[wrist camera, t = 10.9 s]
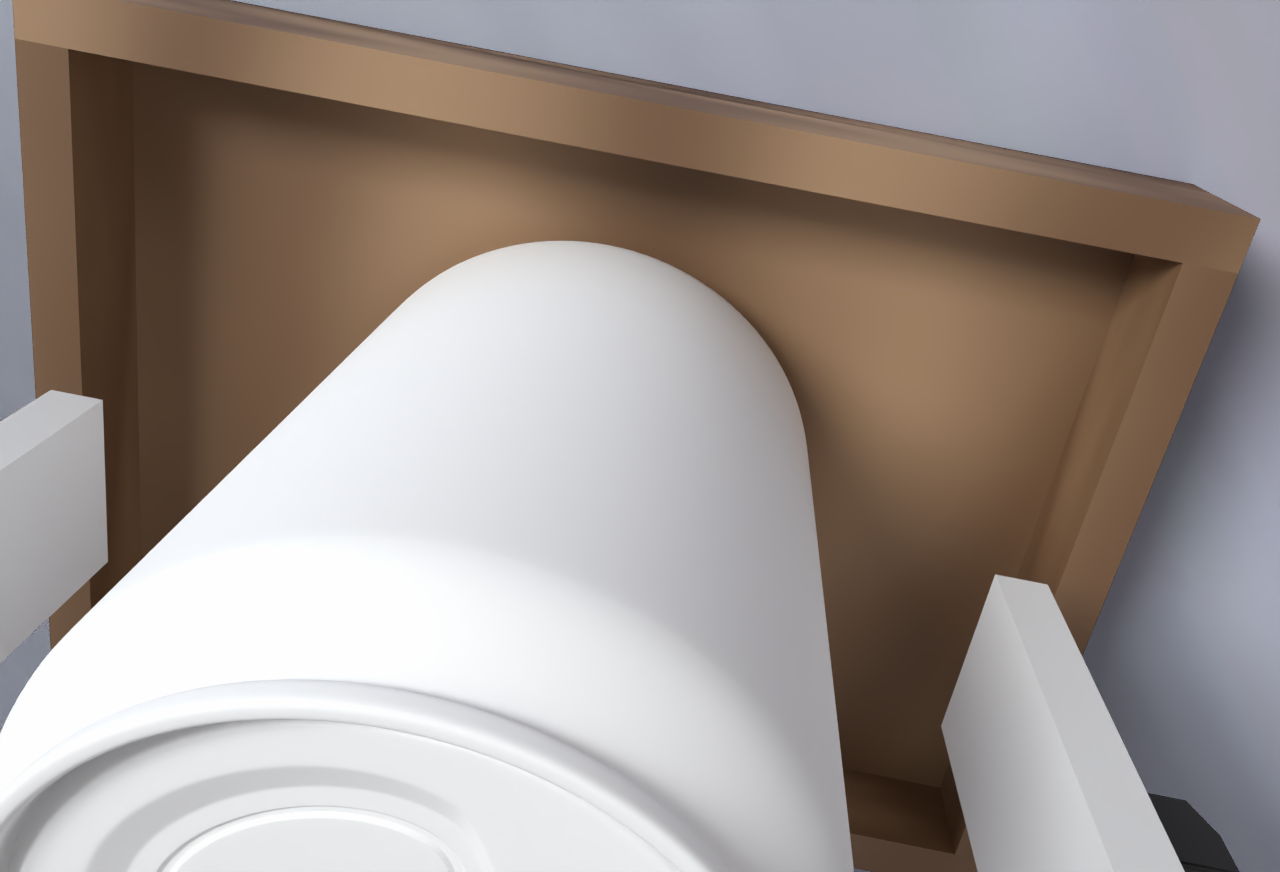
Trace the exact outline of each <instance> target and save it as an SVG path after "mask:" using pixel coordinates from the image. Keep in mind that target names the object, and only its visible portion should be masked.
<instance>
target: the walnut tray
mask: <svg viewBox="0 0 1280 872" xmlns="http://www.w3.org/2000/svg"><path fill="white" fill-rule="evenodd" d="M12 2H13V19H14V36H15V52H16V69H17V86H18V103H19V120H20V137H21V154H22V171H23V187H24V204H25V221H26V238H27V255H28V272H29V289H30V306H31V322H32V339H33V356H34V373H35V390H36V399H37V398H39V397H40V396H42V395H44V394H45V393H47V392H48V391H50V390H55V391H60V392H65V393H70V394H75V395H80V396H85V397H91V398H96V399H101V400H103V425H104V455H105V486H106V516H107V547H108V562H107V563H106V564H105V565H104V566H103V567H102V568H101V569H100V570H99V571H98V572H97V573H95V574H94V575H93V576H92V577H91V578H90V579H89V580H88V581H87V582H86V583H85V584H84V585H83V586H82V587H81V588H80V589H79V590H78V591H77V592H75V593H74V594H73V595H72V596H71V597H70V598H69V599H68V600H67V601H66V602H65V603H64V604H63V605H62V606H61V607H60V608H59V609H58V610H56V611H55V612H54V613H53V614H52V615H51V616H50V617H49V626H50V643H51V650H52V649H53V648H54V647H55V646H56V645H57V644H58V643H59V642H60V640H61V639H62V638H63V637H64V636H65V635H66V634H67V633H68V632H69V631H70V630H71V629H72V628H73V627H74V626H75V625H76V624H77V623H78V622H79V621H80V620H81V619H82V618H83V617H84V616H85V615H86V614H87V613H88V612H89V611H90V610H91V609H92V608H93V607H94V606H95V605H96V604H97V603H98V602H99V601H100V600H101V599H102V598H103V597H104V596H105V595H106V594H107V593H108V592H109V591H110V590H111V589H112V588H113V587H114V586H115V585H116V584H117V583H118V582H119V581H120V580H121V579H122V578H123V577H124V576H125V575H127V574H128V573H129V572H130V571H131V570H132V569H133V568H134V567H135V566H136V565H137V564H138V563H139V562H140V561H141V560H142V559H143V558H144V557H145V556H146V555H147V554H148V553H149V552H150V551H151V550H152V549H153V548H154V547H155V546H156V545H157V544H158V543H159V542H160V541H161V540H162V539H163V538H164V537H165V536H166V535H167V534H168V533H169V532H170V531H171V530H172V529H173V528H174V527H175V526H176V525H177V524H178V523H179V522H180V521H181V520H182V519H183V518H184V517H185V516H186V515H187V514H188V513H189V512H191V511H192V510H193V509H194V508H195V507H196V506H197V505H198V504H199V503H200V502H201V501H202V500H203V499H204V498H205V497H206V496H207V495H208V494H209V493H210V492H211V491H212V490H213V489H214V488H215V487H216V486H217V485H218V484H219V483H220V482H221V481H222V480H223V479H224V478H225V477H226V476H227V475H228V474H229V473H230V472H231V471H232V470H233V469H234V468H235V467H236V466H237V465H238V464H239V463H240V462H241V461H242V460H243V459H244V458H245V457H246V456H247V455H248V454H249V453H250V452H251V451H252V450H254V449H255V448H256V447H257V446H258V445H259V444H260V443H261V442H262V441H263V440H264V439H265V438H266V437H267V436H268V435H269V434H270V433H271V432H272V431H273V430H274V429H275V428H276V427H277V426H278V425H279V424H280V423H281V422H282V421H283V420H284V419H285V418H286V417H287V416H288V415H289V414H290V413H291V412H292V411H293V410H294V409H295V408H296V407H297V406H298V405H299V404H300V403H301V402H302V401H303V400H304V399H305V398H306V397H307V396H308V395H309V394H310V393H311V392H312V391H313V390H314V389H315V388H316V387H318V386H319V385H320V384H321V383H322V382H323V381H324V380H325V379H326V378H327V377H328V376H329V375H330V374H331V373H332V372H333V371H334V370H335V369H336V368H337V367H338V366H339V365H340V364H341V363H342V362H343V361H344V360H345V359H346V358H347V357H348V356H349V355H350V354H351V353H352V352H353V351H354V350H355V349H356V348H357V347H358V346H359V345H360V344H361V343H362V342H363V341H364V340H365V339H366V338H367V337H368V336H369V335H370V334H371V333H372V332H373V331H374V330H375V329H376V328H377V327H378V326H379V325H380V324H382V323H383V322H384V321H385V320H386V319H387V318H388V317H389V316H390V315H391V314H392V313H393V312H394V311H395V310H396V309H397V308H398V307H399V306H400V305H401V304H402V303H403V302H404V301H405V300H406V299H407V298H409V297H410V296H411V295H412V294H413V293H414V292H416V291H417V290H418V289H419V288H421V287H422V286H423V285H425V284H426V283H427V282H429V281H430V280H432V279H433V278H434V277H436V276H438V275H439V274H441V273H443V272H444V271H446V270H448V269H450V268H451V267H453V266H455V265H457V264H459V263H461V262H464V261H466V260H468V259H470V258H473V257H475V256H478V255H481V254H484V253H487V252H490V251H493V250H497V249H500V248H504V247H509V246H513V245H519V244H524V243H532V242H542V241H581V242H591V243H599V244H605V245H611V246H615V247H620V248H624V249H628V250H631V251H635V252H638V253H641V254H644V255H647V256H650V257H652V258H655V259H658V260H660V261H662V262H665V263H667V264H669V265H671V266H673V267H675V268H677V269H680V270H681V271H683V272H685V273H687V274H689V275H691V276H692V277H694V278H695V279H697V280H699V281H700V282H702V283H703V284H705V285H706V286H708V287H709V288H711V289H712V290H713V291H715V292H716V293H717V294H719V295H720V296H721V297H723V298H724V299H725V300H726V301H727V302H729V303H730V304H731V305H732V306H733V307H734V308H735V309H736V310H737V311H738V312H740V313H741V314H742V316H743V317H744V318H745V319H746V320H747V321H748V322H749V323H750V324H751V325H752V326H753V327H754V328H755V330H756V331H757V332H758V333H759V335H760V336H761V337H762V338H763V340H764V341H765V342H766V344H767V345H768V346H769V348H770V349H771V351H772V352H773V354H774V356H775V357H776V359H777V360H778V362H779V364H780V366H781V367H782V369H783V371H784V373H785V375H786V377H787V379H788V381H789V383H790V386H791V388H792V390H793V393H794V396H795V398H796V401H797V404H798V407H799V410H800V414H801V418H802V422H803V427H804V431H805V437H806V444H807V452H808V460H809V469H810V478H811V487H812V496H813V505H814V514H815V523H816V532H817V541H818V551H819V560H820V569H821V578H822V587H823V596H824V605H825V614H826V623H827V632H828V641H829V650H830V659H831V668H832V677H833V686H834V695H835V704H836V713H837V722H838V731H839V740H840V749H841V758H842V767H843V776H844V785H845V794H846V803H847V812H848V821H849V830H850V840H851V849H852V858H853V867H854V868H856V869H861V870H866V871H871V872H978V871H977V867H976V863H975V859H974V855H973V851H972V847H971V843H970V839H969V835H968V831H967V827H966V823H965V819H964V815H963V811H962V807H961V803H960V799H959V795H958V791H957V787H956V783H955V779H954V775H953V771H952V767H951V763H950V760H949V756H948V752H947V748H946V744H945V740H944V736H943V732H942V728H941V725H942V722H943V719H944V717H945V714H946V711H947V708H948V705H949V702H950V700H951V697H952V694H953V691H954V688H955V686H956V683H957V680H958V677H959V674H960V672H961V669H962V666H963V663H964V660H965V658H966V655H967V652H968V649H969V646H970V644H971V641H972V638H973V635H974V632H975V630H976V627H977V624H978V621H979V618H980V615H981V613H982V610H983V607H984V604H985V601H986V599H987V596H988V593H989V590H990V587H991V585H992V582H993V579H994V576H995V574H996V575H1001V576H1006V577H1011V578H1016V579H1021V580H1027V581H1032V582H1037V583H1042V584H1047V585H1048V586H1049V588H1050V590H1051V592H1052V594H1053V597H1054V599H1055V601H1056V603H1057V605H1058V607H1059V609H1060V611H1061V613H1062V615H1063V618H1064V620H1065V622H1066V624H1067V626H1068V628H1069V630H1070V632H1071V634H1072V636H1073V639H1074V641H1075V643H1076V645H1077V647H1078V649H1079V651H1080V653H1081V655H1083V653H1084V650H1085V648H1086V645H1087V643H1088V640H1089V638H1090V635H1091V633H1092V631H1093V628H1094V626H1095V623H1096V621H1097V618H1098V616H1099V613H1100V611H1101V609H1102V606H1103V604H1104V601H1105V599H1106V596H1107V594H1108V591H1109V589H1110V587H1111V584H1112V582H1113V579H1114V577H1115V574H1116V572H1117V569H1118V567H1119V564H1120V562H1121V560H1122V557H1123V555H1124V552H1125V550H1126V547H1127V545H1128V542H1129V540H1130V538H1131V535H1132V533H1133V530H1134V528H1135V525H1136V523H1137V520H1138V518H1139V515H1140V513H1141V511H1142V508H1143V506H1144V503H1145V501H1146V498H1147V496H1148V493H1149V491H1150V489H1151V486H1152V484H1153V481H1154V479H1155V476H1156V474H1157V471H1158V469H1159V467H1160V464H1161V462H1162V459H1163V457H1164V454H1165V452H1166V449H1167V447H1168V444H1169V442H1170V440H1171V437H1172V435H1173V432H1174V430H1175V427H1176V425H1177V422H1178V420H1179V418H1180V415H1181V413H1182V410H1183V408H1184V405H1185V403H1186V400H1187V398H1188V395H1189V393H1190V391H1191V388H1192V386H1193V383H1194V381H1195V378H1196V376H1197V373H1198V371H1199V369H1200V366H1201V364H1202V361H1203V359H1204V356H1205V354H1206V351H1207V349H1208V347H1209V344H1210V342H1211V339H1212V337H1213V334H1214V332H1215V329H1216V327H1217V324H1218V322H1219V320H1220V317H1221V315H1222V312H1223V310H1224V307H1225V305H1226V302H1227V300H1228V298H1229V295H1230V293H1231V290H1232V288H1233V285H1234V283H1235V280H1236V278H1237V275H1238V273H1239V271H1240V268H1241V266H1242V263H1243V261H1244V258H1245V256H1246V253H1247V251H1248V249H1249V246H1250V244H1251V241H1252V239H1253V236H1254V234H1255V231H1256V229H1257V227H1258V224H1259V222H1260V218H1258V217H1256V216H1254V215H1252V214H1250V213H1248V212H1246V211H1244V210H1242V209H1240V208H1238V207H1236V206H1234V205H1232V204H1230V203H1228V202H1227V201H1225V200H1223V199H1221V198H1219V197H1217V196H1215V195H1213V194H1211V193H1209V192H1207V191H1205V190H1203V189H1201V188H1199V187H1197V186H1195V185H1193V184H1189V183H1184V182H1179V181H1174V180H1168V179H1163V178H1158V177H1153V176H1148V175H1142V174H1137V173H1132V172H1127V171H1121V170H1116V169H1111V168H1106V167H1100V166H1095V165H1090V164H1085V163H1079V162H1074V161H1069V160H1064V159H1059V158H1053V157H1048V156H1043V155H1038V154H1032V153H1027V152H1022V151H1017V150H1011V149H1006V148H1001V147H996V146H991V145H985V144H980V143H975V142H970V141H964V140H959V139H954V138H949V137H943V136H938V135H933V134H928V133H922V132H917V131H912V130H907V129H902V128H896V127H891V126H886V125H881V124H875V123H870V122H865V121H860V120H854V119H849V118H844V117H839V116H833V115H828V114H823V113H818V112H813V111H807V110H802V109H797V108H792V107H786V106H781V105H776V104H771V103H765V102H760V101H755V100H750V99H744V98H739V97H734V96H729V95H724V94H718V93H713V92H708V91H703V90H697V89H692V88H687V87H682V86H676V85H671V84H666V83H661V82H655V81H650V80H645V79H640V78H635V77H629V76H624V75H619V74H614V73H608V72H603V71H598V70H593V69H587V68H582V67H577V66H572V65H566V64H561V63H556V62H551V61H546V60H540V59H535V58H530V57H525V56H519V55H514V54H509V53H504V52H498V51H493V50H488V49H483V48H477V47H472V46H467V45H462V44H457V43H451V42H446V41H441V40H436V39H430V38H425V37H420V36H415V35H409V34H404V33H399V32H394V31H388V30H383V29H378V28H373V27H368V26H362V25H357V24H352V23H347V22H341V21H336V20H331V19H326V18H320V17H315V16H310V15H305V14H299V13H294V12H289V11H284V10H279V9H273V8H268V7H263V6H258V5H252V4H247V3H242V2H237V1H231V0H12Z"/></svg>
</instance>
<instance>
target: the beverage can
mask: <svg viewBox="0 0 1280 872" xmlns="http://www.w3.org/2000/svg"><path fill="white" fill-rule="evenodd" d="M0 872H854V867H853V858H852V849H851V840H850V830H849V821H848V812H847V803H846V794H845V785H844V776H843V767H842V758H841V749H840V740H839V731H838V722H837V713H836V704H835V695H834V686H833V677H832V668H831V659H830V650H829V641H828V632H827V623H826V614H825V605H824V596H823V587H822V578H821V569H820V560H819V551H818V541H817V532H816V523H815V514H814V505H813V496H812V487H811V478H810V469H809V460H808V452H807V444H806V437H805V431H804V427H803V422H802V418H801V414H800V410H799V407H798V404H797V401H796V398H795V396H794V393H793V390H792V388H791V386H790V383H789V381H788V379H787V377H786V375H785V373H784V371H783V369H782V367H781V366H780V364H779V362H778V360H777V359H776V357H775V356H774V354H773V352H772V351H771V349H770V348H769V346H768V345H767V344H766V342H765V341H764V340H763V338H762V337H761V336H760V335H759V333H758V332H757V331H756V330H755V328H754V327H753V326H752V325H751V324H750V323H749V322H748V321H747V320H746V319H745V318H744V317H743V316H742V314H741V313H740V312H738V311H737V310H736V309H735V308H734V307H733V306H732V305H731V304H730V303H729V302H727V301H726V300H725V299H724V298H723V297H721V296H720V295H719V294H717V293H716V292H715V291H713V290H712V289H711V288H709V287H708V286H706V285H705V284H703V283H702V282H700V281H699V280H697V279H695V278H694V277H692V276H691V275H689V274H687V273H685V272H683V271H681V270H680V269H677V268H675V267H673V266H671V265H669V264H667V263H665V262H662V261H660V260H658V259H655V258H652V257H650V256H647V255H644V254H641V253H638V252H635V251H631V250H628V249H624V248H620V247H615V246H611V245H605V244H599V243H591V242H581V241H542V242H532V243H524V244H519V245H513V246H509V247H504V248H500V249H497V250H493V251H490V252H487V253H484V254H481V255H478V256H475V257H473V258H470V259H468V260H466V261H464V262H461V263H459V264H457V265H455V266H453V267H451V268H450V269H448V270H446V271H444V272H443V273H441V274H439V275H438V276H436V277H434V278H433V279H432V280H430V281H429V282H427V283H426V284H425V285H423V286H422V287H421V288H419V289H418V290H417V291H416V292H414V293H413V294H412V295H411V296H410V297H409V298H407V299H406V300H405V301H404V302H403V303H402V304H401V305H400V306H399V307H398V308H397V309H396V310H395V311H394V312H393V313H392V314H391V315H390V316H389V317H388V318H387V319H386V320H385V321H384V322H383V323H382V324H380V325H379V326H378V327H377V328H376V329H375V330H374V331H373V332H372V333H371V334H370V335H369V336H368V337H367V338H366V339H365V340H364V341H363V342H362V343H361V344H360V345H359V346H358V347H357V348H356V349H355V350H354V351H353V352H352V353H351V354H350V355H349V356H348V357H347V358H346V359H345V360H344V361H343V362H342V363H341V364H340V365H339V366H338V367H337V368H336V369H335V370H334V371H333V372H332V373H331V374H330V375H329V376H328V377H327V378H326V379H325V380H324V381H323V382H322V383H321V384H320V385H319V386H318V387H316V388H315V389H314V390H313V391H312V392H311V393H310V394H309V395H308V396H307V397H306V398H305V399H304V400H303V401H302V402H301V403H300V404H299V405H298V406H297V407H296V408H295V409H294V410H293V411H292V412H291V413H290V414H289V415H288V416H287V417H286V418H285V419H284V420H283V421H282V422H281V423H280V424H279V425H278V426H277V427H276V428H275V429H274V430H273V431H272V432H271V433H270V434H269V435H268V436H267V437H266V438H265V439H264V440H263V441H262V442H261V443H260V444H259V445H258V446H257V447H256V448H255V449H254V450H252V451H251V452H250V453H249V454H248V455H247V456H246V457H245V458H244V459H243V460H242V461H241V462H240V463H239V464H238V465H237V466H236V467H235V468H234V469H233V470H232V471H231V472H230V473H229V474H228V475H227V476H226V477H225V478H224V479H223V480H222V481H221V482H220V483H219V484H218V485H217V486H216V487H215V488H214V489H213V490H212V491H211V492H210V493H209V494H208V495H207V496H206V497H205V498H204V499H203V500H202V501H201V502H200V503H199V504H198V505H197V506H196V507H195V508H194V509H193V510H192V511H191V512H189V513H188V514H187V515H186V516H185V517H184V518H183V519H182V520H181V521H180V522H179V523H178V524H177V525H176V526H175V527H174V528H173V529H172V530H171V531H170V532H169V533H168V534H167V535H166V536H165V537H164V538H163V539H162V540H161V541H160V542H159V543H158V544H157V545H156V546H155V547H154V548H153V549H152V550H151V551H150V552H149V553H148V554H147V555H146V556H145V557H144V558H143V559H142V560H141V561H140V562H139V563H138V564H137V565H136V566H135V567H134V568H133V569H132V570H131V571H130V572H129V573H128V574H127V575H125V576H124V577H123V578H122V579H121V580H120V581H119V582H118V583H117V584H116V585H115V586H114V587H113V588H112V589H111V590H110V591H109V592H108V593H107V594H106V595H105V596H104V597H103V598H102V599H101V600H100V601H99V602H98V603H97V604H96V605H95V606H94V607H93V608H92V609H91V610H90V611H89V612H88V613H87V614H86V615H85V616H84V617H83V618H82V619H81V620H80V621H79V622H78V623H77V624H76V625H75V626H74V627H73V628H72V629H71V630H70V631H69V632H68V633H67V634H66V635H65V636H64V637H63V638H62V639H61V640H60V642H59V643H58V644H57V645H56V646H55V647H54V648H53V649H52V650H51V651H50V653H49V654H48V655H47V656H46V657H45V659H44V660H43V661H42V662H41V664H40V665H39V667H38V668H37V669H36V671H35V672H34V674H33V675H32V676H31V678H30V679H29V681H28V682H27V684H26V685H25V687H24V689H23V690H22V692H21V694H20V695H19V697H18V699H17V700H16V702H15V704H14V706H13V708H12V710H11V712H10V714H9V715H8V717H7V719H6V721H5V724H4V726H3V728H2V731H1V733H0Z"/></svg>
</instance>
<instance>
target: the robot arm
mask: <svg viewBox="0 0 1280 872" xmlns="http://www.w3.org/2000/svg"><path fill="white" fill-rule="evenodd" d="M107 562H108V547H107V516H106V486H105V455H104V425H103V400H101V399H96V398H91V397H85V396H80V395H75V394H70V393H65V392H60V391H55V390H50V391H48V392H47V393H45V394H44V395H42V396H40V397H39V398H37V399H36V400H34V401H32V402H31V403H29V404H28V405H26V406H24V407H23V408H21V409H20V410H18V411H16V412H15V413H13V414H12V415H10V416H8V417H7V418H5V419H4V420H2V421H0V664H1V663H2V662H3V661H4V660H5V659H6V658H7V657H8V656H9V655H10V654H11V653H12V652H13V651H14V650H15V649H16V648H17V647H19V646H20V645H21V644H22V643H23V642H24V641H25V640H26V639H27V638H28V637H29V636H30V635H31V634H32V633H33V632H34V631H35V630H36V629H37V628H39V627H40V626H41V625H42V624H43V623H44V622H45V621H46V620H47V619H48V618H49V617H50V616H51V615H52V614H53V613H54V612H55V611H56V610H58V609H59V608H60V607H61V606H62V605H63V604H64V603H65V602H66V601H67V600H68V599H69V598H70V597H71V596H72V595H73V594H74V593H75V592H77V591H78V590H79V589H80V588H81V587H82V586H83V585H84V584H85V583H86V582H87V581H88V580H89V579H90V578H91V577H92V576H93V575H94V574H95V573H97V572H98V571H99V570H100V569H101V568H102V567H103V566H104V565H105V564H106V563H107ZM941 728H942V732H943V736H944V740H945V744H946V748H947V752H948V756H949V760H950V763H951V767H952V771H953V775H954V779H955V783H956V787H957V791H958V795H959V799H960V803H961V807H962V811H963V815H964V819H965V823H966V827H967V831H968V835H969V839H970V843H971V847H972V851H973V855H974V859H975V863H976V867H977V871H978V872H1239V870H1238V868H1237V866H1236V865H1235V863H1234V861H1233V859H1232V857H1231V855H1230V853H1229V851H1228V850H1227V848H1226V846H1225V844H1224V842H1223V840H1222V838H1221V837H1220V835H1219V834H1218V833H1217V832H1216V831H1215V830H1214V829H1213V828H1212V827H1211V826H1210V825H1209V824H1208V823H1207V822H1206V821H1205V820H1204V819H1203V818H1202V817H1201V816H1200V815H1199V814H1198V813H1197V812H1196V811H1195V810H1194V809H1193V808H1192V807H1191V805H1190V804H1189V803H1188V802H1187V801H1185V800H1180V799H1175V798H1170V797H1165V796H1160V795H1155V794H1150V793H1147V791H1146V789H1145V787H1144V785H1143V783H1142V781H1141V779H1140V777H1139V775H1138V773H1137V771H1136V768H1135V766H1134V764H1133V762H1132V760H1131V758H1130V756H1129V754H1128V752H1127V750H1126V747H1125V745H1124V743H1123V741H1122V739H1121V737H1120V735H1119V733H1118V731H1117V729H1116V727H1115V724H1114V722H1113V720H1112V718H1111V716H1110V714H1109V712H1108V710H1107V708H1106V706H1105V703H1104V701H1103V699H1102V697H1101V695H1100V693H1099V691H1098V689H1097V687H1096V685H1095V683H1094V680H1093V678H1092V676H1091V674H1090V672H1089V670H1088V668H1087V666H1086V664H1085V662H1084V659H1083V657H1082V655H1081V653H1080V651H1079V649H1078V647H1077V645H1076V643H1075V641H1074V639H1073V636H1072V634H1071V632H1070V630H1069V628H1068V626H1067V624H1066V622H1065V620H1064V618H1063V615H1062V613H1061V611H1060V609H1059V607H1058V605H1057V603H1056V601H1055V599H1054V597H1053V594H1052V592H1051V590H1050V588H1049V586H1048V585H1047V584H1042V583H1037V582H1032V581H1027V580H1021V579H1016V578H1011V577H1006V576H1001V575H996V574H995V576H994V579H993V582H992V585H991V587H990V590H989V593H988V596H987V599H986V601H985V604H984V607H983V610H982V613H981V615H980V618H979V621H978V624H977V627H976V630H975V632H974V635H973V638H972V641H971V644H970V646H969V649H968V652H967V655H966V658H965V660H964V663H963V666H962V669H961V672H960V674H959V677H958V680H957V683H956V686H955V688H954V691H953V694H952V697H951V700H950V702H949V705H948V708H947V711H946V714H945V717H944V719H943V722H942V725H941Z"/></svg>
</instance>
